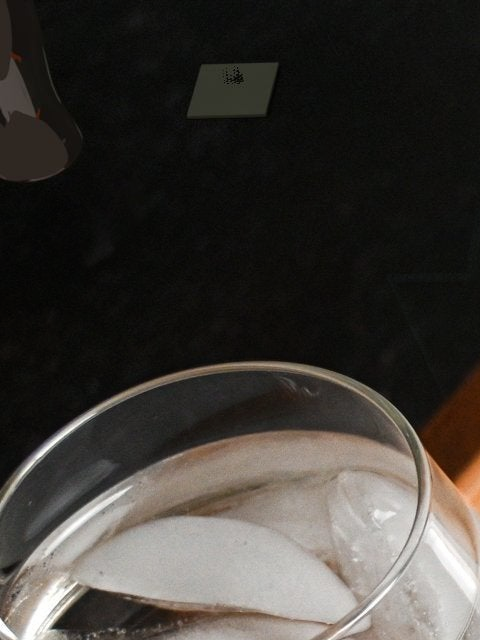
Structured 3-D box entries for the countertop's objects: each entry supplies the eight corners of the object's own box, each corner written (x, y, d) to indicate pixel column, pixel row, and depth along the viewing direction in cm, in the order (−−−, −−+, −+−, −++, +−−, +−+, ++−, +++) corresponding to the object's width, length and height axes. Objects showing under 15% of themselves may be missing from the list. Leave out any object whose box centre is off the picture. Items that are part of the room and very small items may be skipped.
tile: (187, 119, 145) (186, 115, 145) (202, 67, 148) (201, 64, 148) (266, 117, 144) (265, 113, 144) (279, 65, 148) (278, 62, 147)
